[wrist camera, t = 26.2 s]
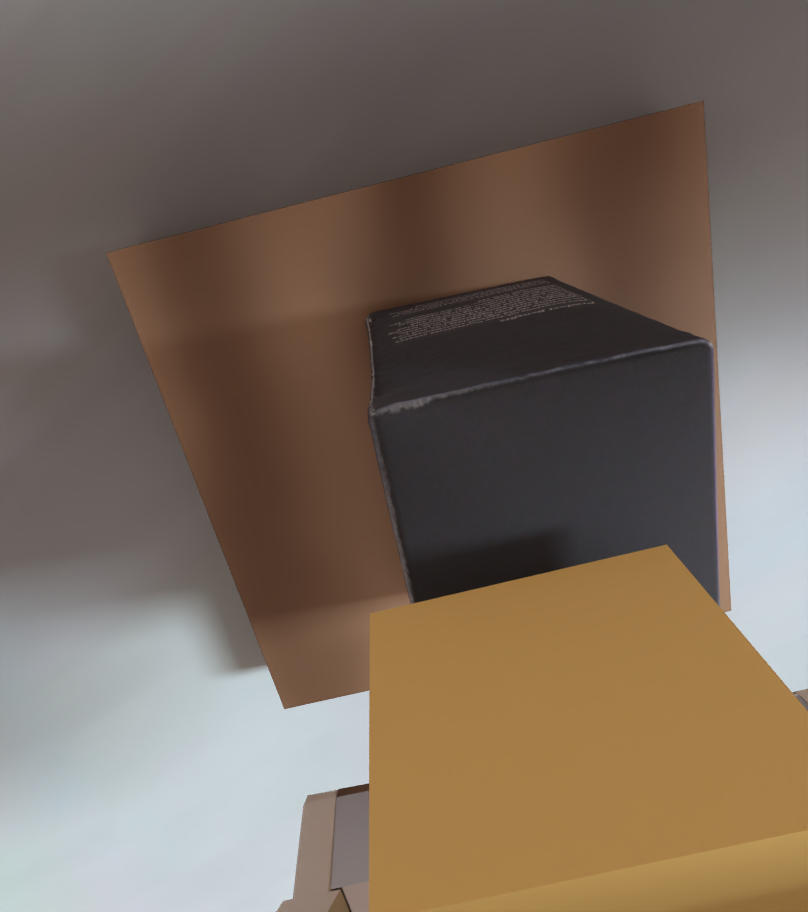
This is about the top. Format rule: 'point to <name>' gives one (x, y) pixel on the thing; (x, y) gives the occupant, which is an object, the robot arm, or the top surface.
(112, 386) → the top surface
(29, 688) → the top surface
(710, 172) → the top surface
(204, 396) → the base board
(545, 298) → the small box
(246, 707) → the top surface
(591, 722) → the mustard block
